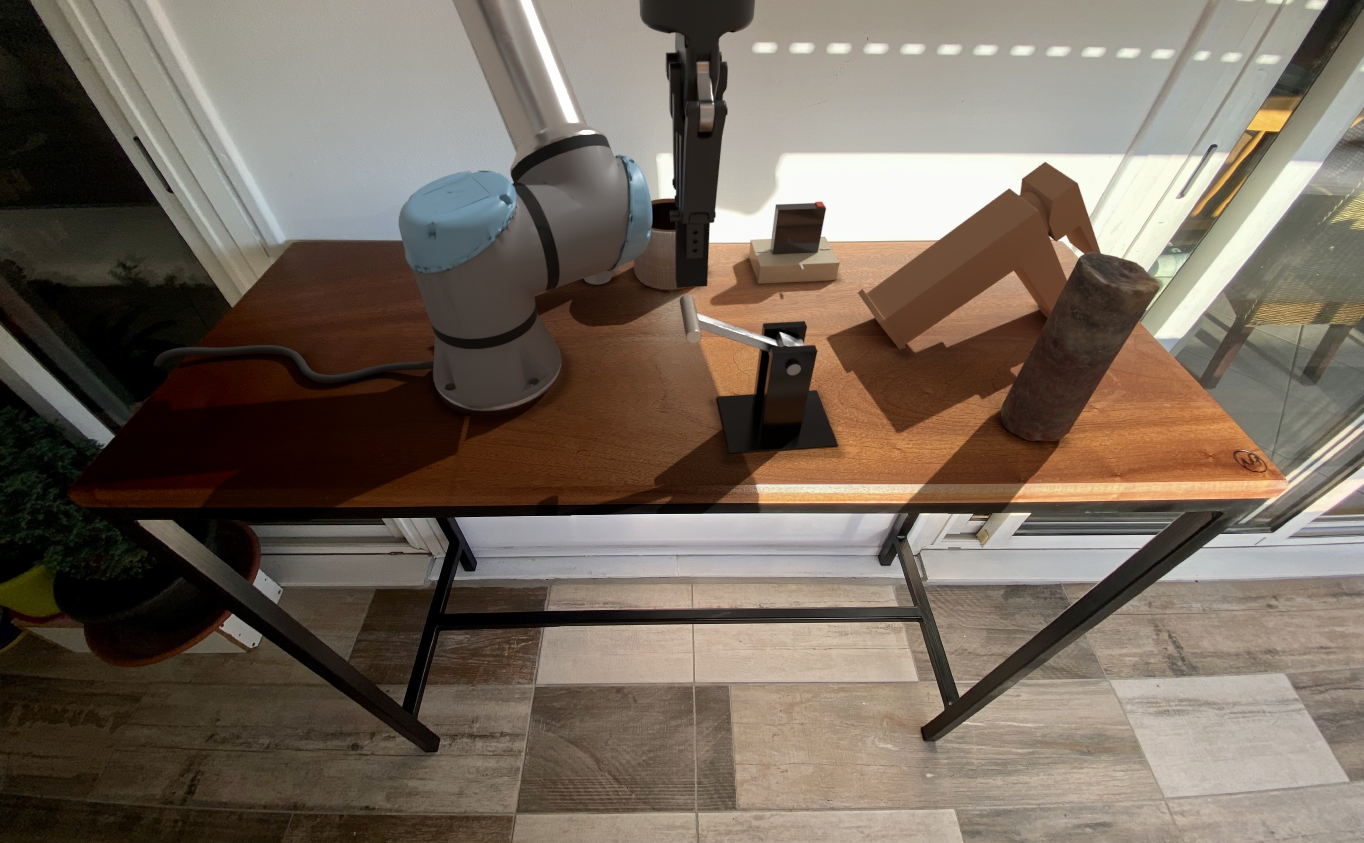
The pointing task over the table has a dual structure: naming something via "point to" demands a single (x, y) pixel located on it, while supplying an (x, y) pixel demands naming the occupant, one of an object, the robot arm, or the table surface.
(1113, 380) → the table surface
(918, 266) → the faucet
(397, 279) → the table surface
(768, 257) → the beige slotted base block
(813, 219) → the red-tipped grey panel
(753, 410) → the bracket
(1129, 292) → the grey-brown thick cylinder
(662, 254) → the planter
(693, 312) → the tap lever
